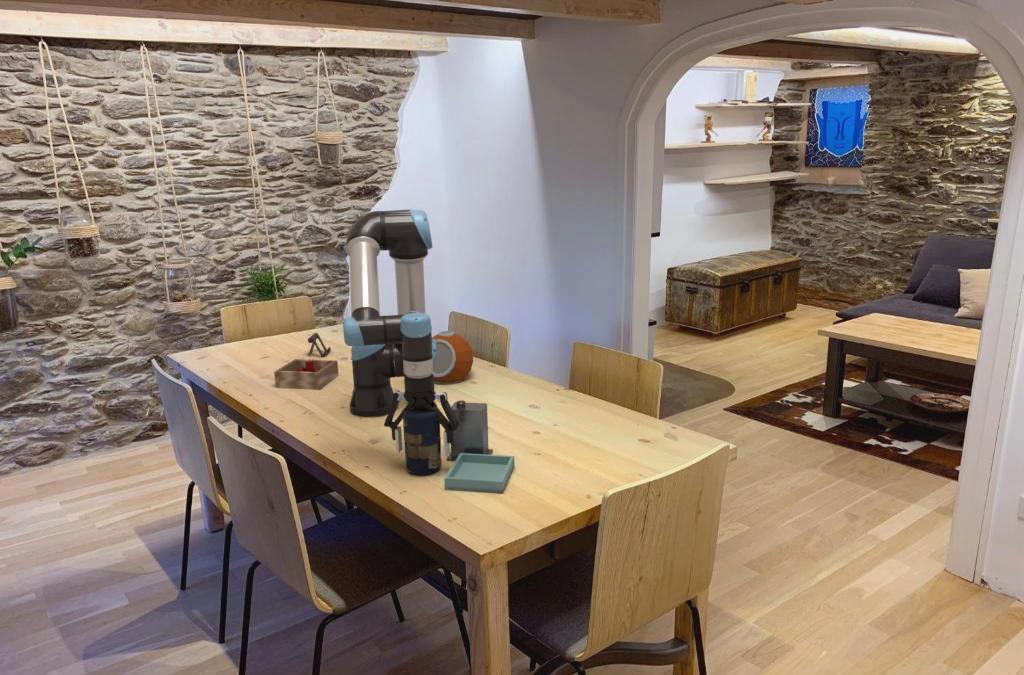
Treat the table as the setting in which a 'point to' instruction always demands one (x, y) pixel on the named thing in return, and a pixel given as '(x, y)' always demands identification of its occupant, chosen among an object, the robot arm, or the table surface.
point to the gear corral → (306, 374)
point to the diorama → (308, 367)
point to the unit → (470, 430)
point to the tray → (480, 473)
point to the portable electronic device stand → (313, 341)
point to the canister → (421, 441)
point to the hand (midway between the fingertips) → (423, 452)
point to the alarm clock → (451, 358)
